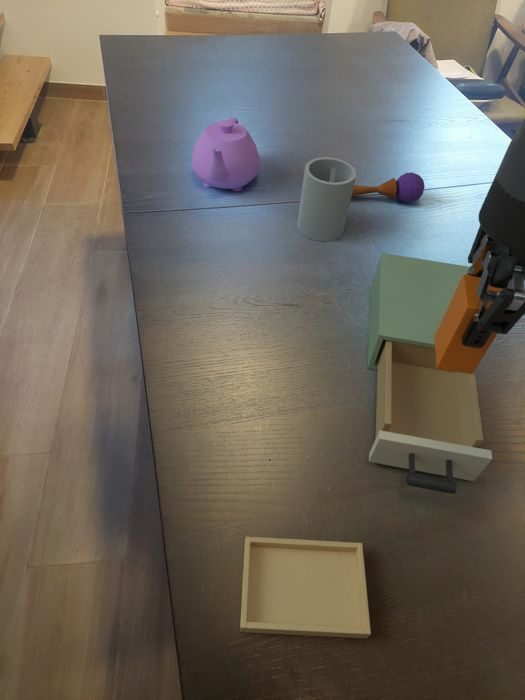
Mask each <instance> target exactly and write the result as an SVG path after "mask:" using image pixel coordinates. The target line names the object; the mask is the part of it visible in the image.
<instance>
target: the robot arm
mask: <svg viewBox="0 0 525 700" xmlns="http://www.w3.org/2000/svg"><path fill="white" fill-rule="evenodd" d="M491 182H492V183H491V184H490V187H489V189H488V191H487V194H486V196H485V198H484V200H483V203H482V205H481V207H480V210H479V212H478V222H479V227H478V230H477V232H476V235H475V238H474V241H473V243H472V246H471V248H470V252H469V254H468V257H467V263H468V264H471V265H470V266H469V267H470V268H469V270H468V272H467V275H470V276H476V277H481V280H480V283H479V286H478V288H477V291H476V293H477V295H478V297H479V302H478V304H477V307H476V310H475V313H474V315H473V317H472V319H471V321H470V323H469V325H468V327H467V329H466V330H465V332H464V334H463V336H462V344H463V345H464V346H468V347H474V348H482V347H483V346H484V345H485V343H486V342H487V340H488V338H489V337H490V335H491V333H492V332H494V333H497V334H500V335H507V334H508V333H509V332H510V331H511V330H512V329H513V328H514V327H515V325H516V324H517V323H518V322H519V321H520V320H521V319H522V318H523V316H524V315H525V117H524V119H523V121H522V122H521V123H520V126H519V127H518V129H517V130H516V132H515V133H514V135H513V137H512V139H511V140H510V142H509V144H508V147H507V148H506V151H505V153H504V155H503V157H502V160H501V163H500V164H499V167H498V169H497V171H496V173H495V176H494V178H493V180H492V181H491ZM489 285H490V286H492V287H495V288H501V289H502V291H492V290H488V286H489ZM489 302H492V304H491V305H490V306H489V308H488V309H487V310H486V311H485V309H486V307H487V304H488V303H489Z"/></svg>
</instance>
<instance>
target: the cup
mask: <svg viewBox="0 0 525 700" xmlns="http://www.w3.org/2000/svg"><path fill="white" fill-rule="evenodd" d="M332 169H335V174H334V179H333V182H332V181H330V179H331V173H332ZM356 178H357V169H355V167H354V166H353V165H352V164H350V163H349V162H348V161H345V160H343V159H340V158H336V157H328V156H327V157H326V156H323V157H315V158H313V159H311V160H309V161H308V162H307V163H306V164H305V166H304V171H303V178H302V179H303V180H302V186H301V195H300V201H299V208H298V216H297V223H296V226H297V227H296V228H297V230H298V231H299V233H300V234H301V235H303V236H304V237H306V238H307V239H309V240H313V241H315V242H332V241H336V240H337V239H340V238H341V237H342V235H343V234H344V232H345V228H346V222H347V219H348V214H349V210H350V205H351V201H352V197H353V196H352V192H353V188H354V185H355V183H356Z"/></svg>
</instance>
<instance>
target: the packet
mask: <svg viewBox="0 0 525 700" xmlns="http://www.w3.org/2000/svg"><path fill="white" fill-rule="evenodd" d="M480 280H481V277H476V276H470V275H463V277H462V279H461V281H460V283H459V285H458V287H457V289H456V291H455V294H454V296H453V298H452V300H451V302H450V304H449V306H448V309H447V311H446V313H445V315H444V317H443V319H442V321H441V324H440V326H439V328H438V330H437V332H436V334H435V336H434V337H435V351H436V365H437V368H438V369H443V370H449V371H455V372H461V373H467V374H473V373H474V372H476V370H477V368H478V367H479V365H480V363H481V362H482V360H483V359H484V357H485V355H486V354H487V352H488V350H489V348H490V347H491V345H492V343H493V342H494V340H495V339H496V336H497V335H498V333H494V332H492V333H491V335H490V337H489V338H488V340H487V342H486V343H485V345H484V346H483V347H482V348H474V347H468V346H464V345H463V344H462V336H463V334H464V332H465V330H466V329H467V327H468V325H469V323H470V321H471V319H472V317H473V315H474V313H475V310H476V307H477V304H478V302H479V297H478V295H477V293H476V291H477V288H478V286H479V283H480ZM488 290H492V291H502V289H501V288H495V287H492V286H490V285H489V286H488ZM491 304H492V302H489V303H488V304H487V307H486V309H485V311H486V310H487V309H488V308H489V306H490V305H491Z"/></svg>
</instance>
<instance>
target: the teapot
mask: <svg viewBox="0 0 525 700" xmlns="http://www.w3.org/2000/svg"><path fill="white" fill-rule="evenodd" d="M191 169H192V171H193V173H194V175H196V177H197V178H198V179H199V180H201V182H203V186H204V187H206V188H217V189H230V190H232V191H234V192H241V191H243V187H245V186H246V185H247V184H249V183H250V182H251V181H252V180H253V179H255V178H256V176H257V175H258V174H259V171H260V169H261V159H260V154H259V150H258V147H257V145H256V143H255V141H254V140H253V138H252V136H251V134H250V133H249V131H248V130H247V129H246V127H244V126H243V125H242V124H239V121H238V119H237V118H235V117H229V118H228V119H222V120H219V121H216V122H212V123H211V124H208V125H207V126H206V127H205V128H204V130H203V131H202V132H201V134H200V136H199V137H198V139H197V141H196V142H195V144H194V147H193V150H192V154H191Z"/></svg>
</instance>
